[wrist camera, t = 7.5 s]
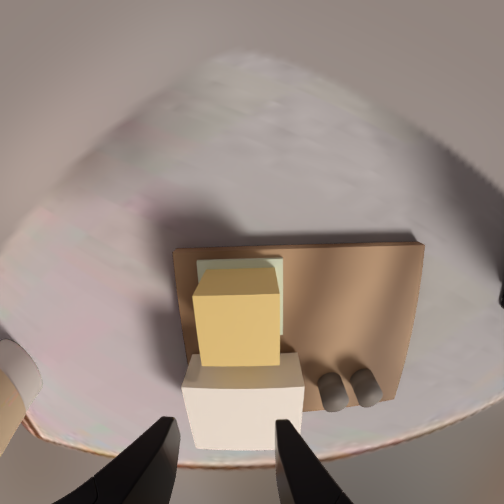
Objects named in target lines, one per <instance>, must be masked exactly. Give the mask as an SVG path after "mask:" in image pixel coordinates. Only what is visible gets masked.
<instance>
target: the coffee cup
mask: <svg viewBox="0 0 504 504" xmlns="http://www.w3.org/2000/svg"><path fill="white" fill-rule="evenodd" d="M42 386H43V382H42V377H41V374H40V372H39V370H38V368H37V366H36V364H35V363H34V361H33V360H32V358H31V357H30V356H29V355H28V353H27V352H26V351H25V350H24V349H23V348H22V347H20V346H19V345H18V344H17V343H15V342H13V341H11V340H8V339H3V340H1V341H0V457H1V455H2V454H3V452H4V450H5V448H6V447H7V445H8V443H9V441H10V440H11V437H12V436H13V434H14V433H15V431H16V429H17V428H18V426H19V425H20V423H21V421H22V420H23V418H24V416H25V414H26V411H27V410H28V408H29V407H30V405H31V404H32V402H33V401H34V399H35V398H36V397H37V395H38V394H39V392H40V391H41V389H42Z"/></svg>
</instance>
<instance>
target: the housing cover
mask: <svg viewBox="0 0 504 504" xmlns="http://www.w3.org/2000/svg"><path fill="white" fill-rule="evenodd" d="M304 388H305V386H304V381H303V376H302V371H301V367H300V362H299V357H298V353H280V365H274V366H202V364H201V357H200V354H192V357H191V360H190V363H189V365H188V368H187V371H186V374H185V377H184V380H183V383H182V386H181V389H182V393H183V397H184V402H185V406H186V410H187V414H188V419H189V423H190V427H191V430H192V434H193V438H194V442H195V445H196V448H197V449H213V450H275V421H276V420H278V419H288V420H290V422H291V423H292V424H293V426H294V427H295V429H296V430H297V431H298V433H299V434H300V430H301V421H302V411H303V400H304Z"/></svg>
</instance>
